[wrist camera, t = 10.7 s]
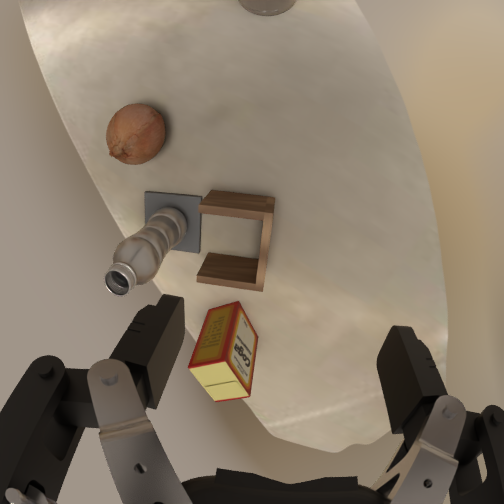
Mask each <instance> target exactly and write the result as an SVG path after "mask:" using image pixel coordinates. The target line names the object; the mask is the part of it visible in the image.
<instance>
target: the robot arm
mask: <svg viewBox="0 0 504 504" xmlns="http://www.w3.org/2000/svg"><path fill="white" fill-rule="evenodd" d="M239 2H240V3H241V5H242V6H243V7H244V8H245V9H247V10H248V11H250V12H252V13H255V14H258V15H263V16H272V15H278V14H280V13H283V12H285V11H287V10H289V9H290V8H291V7H292V6H293V5H294V3H295V2H296V0H239ZM184 334H185V316H184V298H183V297H178V296H173V295H167V294H163V295H162V297H161V298H160V300H159V302H158V304H157V305H156V306H154V305H147V306H146V307H144V308H143V309H141V310H140V311H138V313H137V314H136V316H135V317H134V319H133V321H132V323H131V324H130V325H129V327H128V329H127V330H126V332H125V333H124V335H123V336H122V338H121V339H120V341H119V343H118V344H117V346H116V348H115V349H114V351H113V352H112V354H111V356H110V357H109V359H104V360H101V361H99V362H97V363H95V364H94V365H92V366H91V368H90V369H71V368H65V366H64V364H63V362H62V361H61V360H60V359H59V358H58V357H55V356H50V355H47V356H42V357H39V358H37V359H36V360H34V361H33V362H32V364H31V365H30V366H29V368H28V369H27V371H26V372H25V374H24V375H23V377H22V378H21V380H20V381H19V383H18V384H17V386H16V388H15V389H14V391H13V392H12V394H11V395H10V397H9V399H8V400H7V402H6V404H5V405H4V407H3V409H2V411H1V412H0V504H57V503H56V501H57V498H58V495H59V493H60V490H61V487H62V484H63V481H64V479H65V476H66V474H67V471H68V468H69V466H70V463H71V461H72V458H73V456H74V453H75V451H76V448H77V446H78V443H79V441H80V439H81V436H82V434H83V431H84V429H85V427H89V428H100V432H99V438H100V442H101V445H102V448H103V451H104V454H105V457H106V460H107V463H108V466H109V469H110V471H111V474H112V477H113V479H114V482H115V485H116V487H117V490H118V492H119V495H120V497H121V500H122V502H123V504H442V503H443V501H444V499H445V497H446V494H447V492H448V490H449V495H450V502H451V504H504V411H503V410H502V409H501V408H500V407H498V406H496V405H489V406H487V407H486V408H485V409H484V410H483V411H482V412H481V414H479V413H475V412H470V411H466V409H465V407H464V405H463V404H462V402H461V401H460V400H459V399H457V398H455V397H453V396H450V395H448V394H447V391H446V389H445V386H444V384H443V381H442V379H441V376H440V374H439V372H438V369H437V368H436V365H435V362H434V360H432V359H433V358H432V356H431V353H430V351H429V349H428V348H427V347H426V345H425V344H424V343H423V342H422V341H421V340H418V339H417V337H416V335H415V333H414V331H413V329H412V327H408V326H395V325H394V326H392V327H391V329H390V331H389V333H388V335H387V337H386V339H385V341H384V343H383V346H382V348H381V350H380V352H379V354H378V357H377V370H378V374H379V378H380V382H381V386H382V390H383V394H384V398H385V403H386V407H387V411H388V416H389V420H390V425H391V430H392V434H402V433H403V434H404V439H403V440H402V441H401V443H400V444H399V446H398V448H397V449H396V451H395V453H394V455H393V456H392V458H391V460H390V461H389V463H388V465H387V466H386V468H385V470H384V471H383V473H382V474H381V476H380V477H379V478H378V480H377V481H376V482H375V483H374V484H373V485H372V486H371V487H370V488H368V487H366V486H362V485H358V479H357V476H355V477H324V478H321V479H315V480H311V481H306V482H301V483H295V484H285V483H282V482H279V481H275V480H271V479H269V478H266V477H262V476H259V475H257V474H253V473H246V472H239V471H232V470H226V469H219V468H217V471H216V475H215V476H203V477H198V478H193V479H190V480H187V481H184V482H182V483H181V482H180V481H179V479H178V477H177V475H176V473H175V471H174V469H173V467H172V465H171V463H170V461H169V459H168V458H167V455H166V453H165V452H164V449H163V447H162V445H161V443H160V441H159V439H158V437H157V434H156V432H155V430H154V428H153V425H152V424H151V422H150V420H149V419H148V417H147V415H146V412H145V410H146V408H147V407H148V408H152V409H157V406H158V404H159V401H160V398H161V396H162V393H163V390H164V388H165V386H166V383H167V380H168V378H169V375H170V373H171V370H172V368H173V365H174V363H175V361H176V358H177V356H178V353H179V351H180V348H181V346H182V343H183V339H184ZM482 453H483V456H484V460H485V464H486V469H487V477H486V479H485V481H484V482H483V483H482V479H481V474H480V470H479V465H478V461H477V457H478V456H479V455H480V454H482Z"/></svg>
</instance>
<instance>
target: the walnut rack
mask: <svg viewBox="0 0 504 504" xmlns="http://www.w3.org/2000/svg"><path fill="white" fill-rule="evenodd" d="M274 204H275V198H274V197H267V196H259V195H251V194H242V193H234V192H225V191H215V190H211V191H210V192H209V194H208V195H207V196H206V197H205V198H204V199H203V200H202V201H201V202H200V204H199V207H198V213H204V214H213V215H221V216H229V217H238V218H246V219H253V220H261V221H263V229H262V237H261V245H260V253H259V259H252V258H245V257H238V256H230V255H223V254H216V253H208V254H207V256H206V258H205V260H204V262H203V264H202V266H201V268H200V270H199V272H198V274H197V282H199V283H206V284H212V285H219V286H226V287H233V288H239V289H247V290H254V291H261V292H263V287H264V279H265V272H266V265H267V258H268V251H269V243H270V236H271V229H272V221H273V213H274Z"/></svg>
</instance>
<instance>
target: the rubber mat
mask: <svg viewBox="0 0 504 504" xmlns="http://www.w3.org/2000/svg"><path fill="white" fill-rule="evenodd" d="M201 201H202V196H194V195H184V194H174V193H162V192H151V191H146V192H145V225H146V224H147V222H148V220H149V219H150V217H151V216H152V215H153V213H154V212H156V211H157V210H159V209H162V208H165V207H172V208H175V209H177V210H179V211H180V212H181V213H182V214H183V215H184V217H185V219H186V222H187V230H186V233H185V236H184V238H183V240H182V241H181V242H180V243H179V244H177V245H176V246H175V247H173V248H172V249H171V250H178V251H186V252H193V253H200V241H201V213H198V207H199V204H200V202H201Z"/></svg>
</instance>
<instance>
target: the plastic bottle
mask: <svg viewBox="0 0 504 504" xmlns="http://www.w3.org/2000/svg"><path fill="white" fill-rule="evenodd" d="M186 230H187V222H186V219H185V217H184V215H183V214H182V213H181V212H180V211H179V210H177V209H175V208H172V207H165V208H162V209H159V210H157V211H156V212H154V213H153V215H152V216H151V217H150V219H149V220H148V222H147V224H146V225H145V226H144V227H143V228H142V229H141V230H139V231H138V232H137V233H135V234H133V235H132V236H130V237H128V238H126V239H125V240H123V241H122V242H121V243H119V245H118V246H117V248H116V250H115V252H114V255H113V264H112V265H111V267H110V268H109V270H108V271H107V272H106V274H105V276H104V283H105V285H106V287H107V289H108V290H109V291H110V292H111V293H112V294H114V295H116V296H126V295H127V294H128V293H129V292H130V291H131V290H132V289H133V288H134V287H135V285H143V284H146V283H147V282H149V281H151V280H152V279H153V278H154V277H155V275H156V274H157V272H158V270H159V268H160V265H161V263H162V261H163V259H164V257H165V256H166V254H167V253H168V252H169V251H170V250H171V249H172V248H173V247H175V246H176V245H177V244H179V243H180V242H181V241H182V240H183V238H184V236H185V233H186Z"/></svg>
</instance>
